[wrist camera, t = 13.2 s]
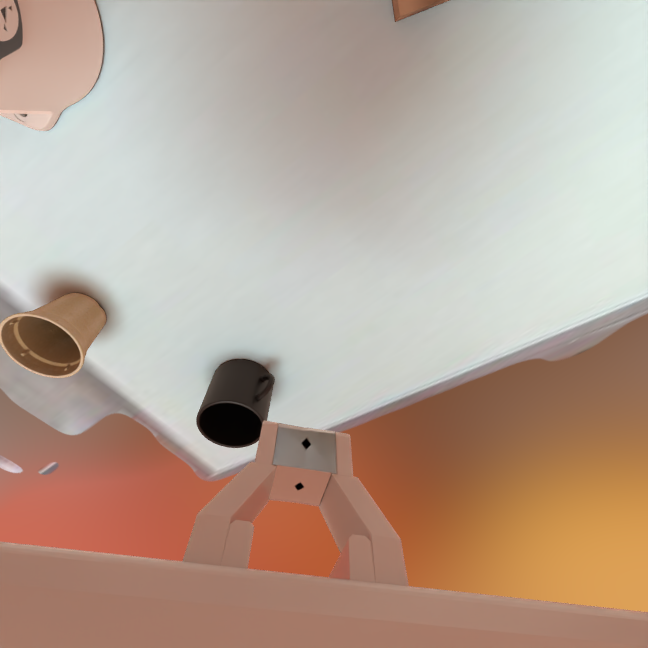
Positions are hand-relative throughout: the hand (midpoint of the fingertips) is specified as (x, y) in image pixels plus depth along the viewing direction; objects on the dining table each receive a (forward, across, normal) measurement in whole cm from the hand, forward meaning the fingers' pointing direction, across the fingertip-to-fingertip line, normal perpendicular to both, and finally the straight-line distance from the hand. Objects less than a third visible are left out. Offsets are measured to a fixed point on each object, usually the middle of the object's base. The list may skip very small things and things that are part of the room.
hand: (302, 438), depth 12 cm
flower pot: (+34, +29, +22) cm, 50 cm away
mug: (+34, +5, +29) cm, 45 cm away
